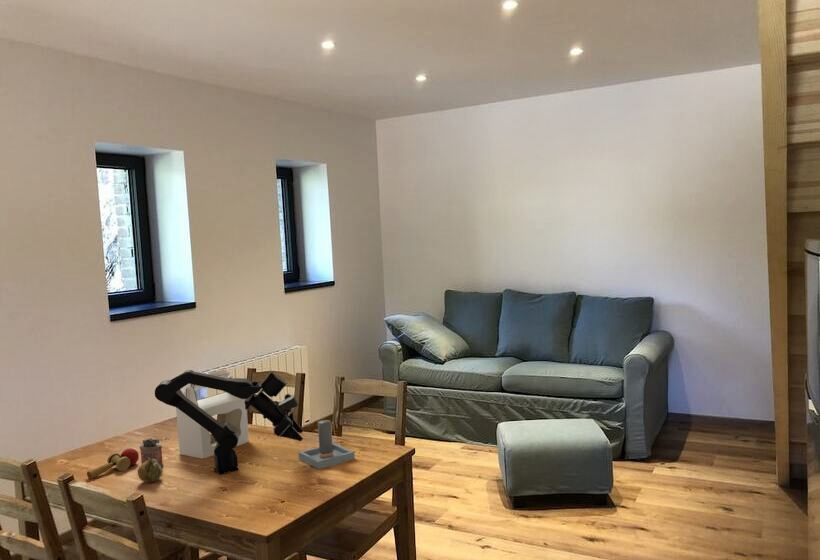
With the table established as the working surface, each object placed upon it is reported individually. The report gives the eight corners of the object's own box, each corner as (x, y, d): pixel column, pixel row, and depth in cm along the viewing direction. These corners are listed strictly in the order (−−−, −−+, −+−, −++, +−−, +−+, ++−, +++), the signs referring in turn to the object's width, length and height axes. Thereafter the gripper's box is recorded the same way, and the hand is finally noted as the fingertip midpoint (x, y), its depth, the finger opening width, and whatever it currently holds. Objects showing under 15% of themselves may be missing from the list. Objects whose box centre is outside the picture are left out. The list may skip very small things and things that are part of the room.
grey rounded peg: (329, 458, 227) (327, 424, 227) (317, 458, 229) (315, 423, 228) (335, 454, 232) (333, 420, 231) (323, 453, 233) (321, 419, 232)
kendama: (99, 485, 221) (145, 461, 236) (92, 467, 221) (140, 444, 236) (86, 485, 226) (133, 461, 241) (80, 468, 225) (128, 445, 240)
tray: (318, 469, 221) (317, 461, 220) (298, 459, 232) (298, 452, 232) (354, 459, 229) (354, 451, 229) (334, 449, 240) (333, 442, 240)
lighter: (139, 468, 232) (136, 440, 231) (145, 465, 235) (142, 437, 234) (159, 469, 230) (157, 440, 229) (165, 465, 233) (163, 437, 232)
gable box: (202, 459, 238) (196, 381, 236) (178, 454, 245) (172, 378, 243) (249, 441, 256) (244, 369, 254) (226, 437, 263) (220, 366, 261)
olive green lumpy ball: (167, 476, 223) (166, 452, 222) (158, 485, 215) (156, 460, 214) (145, 476, 223) (143, 453, 222) (134, 486, 215) (132, 461, 214)
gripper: (282, 395, 217) (318, 425, 220) (283, 382, 236) (317, 411, 238) (258, 421, 217) (295, 451, 219) (262, 407, 235) (296, 434, 238)
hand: (301, 435), depth 229 cm, fingers open, 9 cm apart
